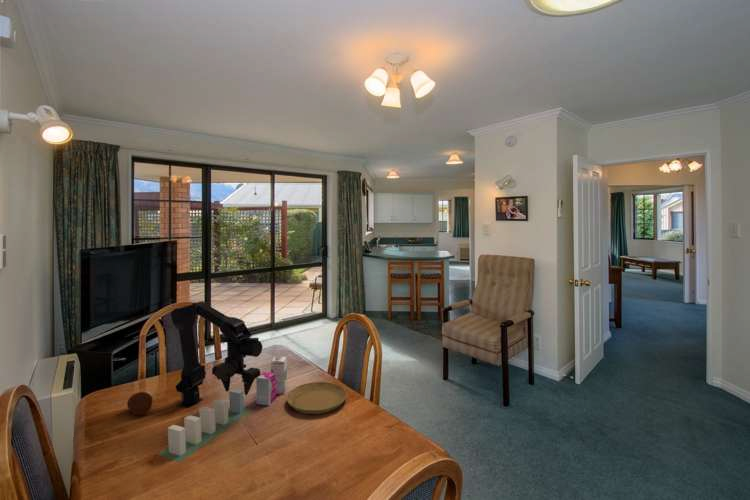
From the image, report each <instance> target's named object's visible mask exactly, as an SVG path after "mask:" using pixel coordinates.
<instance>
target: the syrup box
mask: <svg viewBox="0 0 750 500" xmlns="http://www.w3.org/2000/svg"><path fill="white" fill-rule="evenodd" d="M270 373H275V374H276V395H284V394H286V390H287V387H288V384H287V382H288V377H287V376H288V374H287V373H288V359H287V356H274V357H273V358H272V360H271V362H270Z"/></svg>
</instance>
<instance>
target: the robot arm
mask: <svg viewBox="0 0 750 500" xmlns="http://www.w3.org/2000/svg"><path fill="white" fill-rule="evenodd" d="M197 315H198V316H200V317H201V318H203V319H205V320H206V321H208V322H209V323H211V324H213V325H214V326H216V327H218V328H219V331H220V333H221V334H222V335H224V336H225V337H223V339H222V340H221V341H222V342H223V343H226V346H227V347H226V352H227V353H226V354H227V356H226V357H224V361H222V362H220V363H218V364H216V365H214V366H213V367H212V369H211V374H212V375H214V377H215V378H216V379H217V380H220V381H221V383H222V386H223V388H224V390H225V392H229V391H230V385H231V378H233V377H234V376H235V375H239V376H241V379H242V380H241V382H242V383H243V393H244V396H247V395H249V392H250V390H251V387H252V386H253V384H254V383H253V382H254V381H255V379H256V378H257V377H259V376H260V375H261V369H259V368H257V367H252V366H251V367H250V368H248V369H246V368H247V364H245V360H244V359H245V358H247V357H254V358H258V357H259V356H260V355H261V354H262V351H263V344H262V342H261V341H259V337H252V333H251V331H249V329H248V327H247V325H246V324H245V321H244V320H242V319H241V318H237V317H234V316H228V315H226V314H224V313H222V312H220V311H219V310H218V309H215V308H214V307H212V306H210V305H209V304H207V302H205V301H197V302H194V303H191V304H190V305H184V306H180V307H176V308H174V309H173V310H172V312H171V314H170V318H171V321H172V324H173V326H174V327H175V328H176V329H177V330H178V334H179V340H180V345H181V346H180V347H181V353H182V359H183V368H182V370H181V373H180V381H179V382H178V383H177V384H176V385H175V389H176V392H178V393H180V396H181V400H180V401H179V402H178V403H177V405H178V406H182V407H186V408H191V407H192V406H194V405H197V404H198V403H200V402H201V401H203V398H202V397H200V394H201V393H200V386H202V385H203V383H204V380H205V379H206V375H207V372H206V369H205V368H206V367H205V365H204V364H201V363H200V362H199V361H198V359H199V358H198V354H197V353H198V352H197V347H196V341H195V334H194V333H195V332H194V327H193V326H194V325H195V323H196V320H197V318H196V316H197ZM246 356H247V357H246Z"/></svg>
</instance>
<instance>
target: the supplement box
mask: <svg viewBox="0 0 750 500" xmlns="http://www.w3.org/2000/svg"><path fill="white" fill-rule="evenodd" d="M255 379H256V383H255V384H256V390H255V391H256V392H255V393H256V396H255V397H256V401H255V402H256V404H255V405H256V406H265V407H270V406H271V405H272V404H273V403H274V402H275V401H276V395H277V394H276V374H275V373H271V372H265V371H264V372H262V373H260V376H259V377H257V378H255Z"/></svg>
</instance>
